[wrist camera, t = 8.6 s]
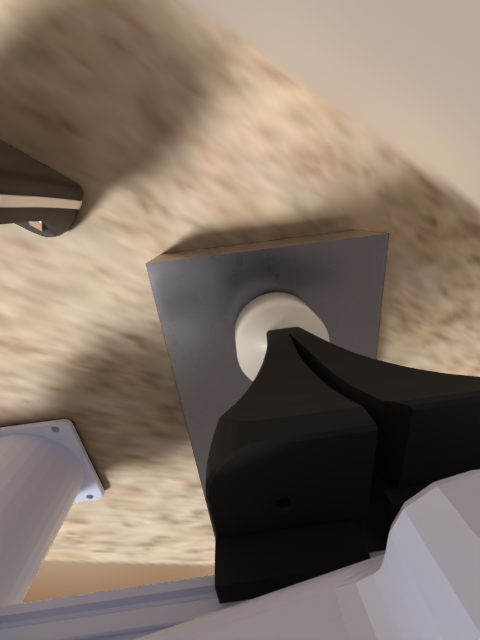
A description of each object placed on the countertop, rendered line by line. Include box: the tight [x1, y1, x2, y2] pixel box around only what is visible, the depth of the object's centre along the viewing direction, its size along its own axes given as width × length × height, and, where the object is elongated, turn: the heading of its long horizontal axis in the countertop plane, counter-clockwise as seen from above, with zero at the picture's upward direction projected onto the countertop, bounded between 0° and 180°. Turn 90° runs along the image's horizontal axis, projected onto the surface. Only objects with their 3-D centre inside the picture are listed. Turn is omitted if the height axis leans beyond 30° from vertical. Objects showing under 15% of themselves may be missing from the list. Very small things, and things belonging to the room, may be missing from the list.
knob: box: [235, 292, 329, 381], centre depth 13 cm, size 4×4×5 cm
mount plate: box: [146, 230, 389, 540], centre depth 17 cm, size 11×23×3 cm, turn 7°
